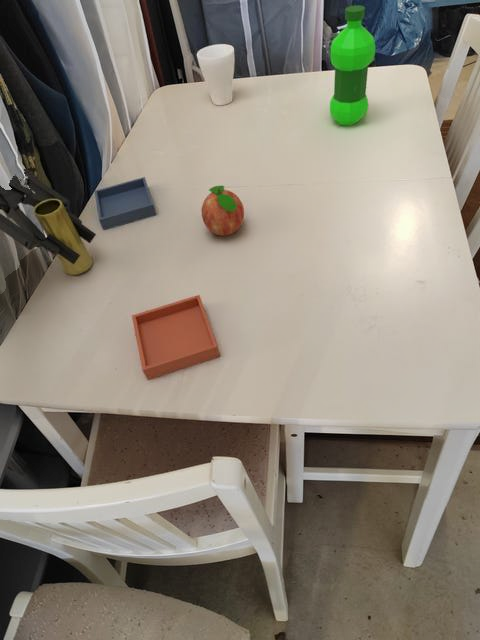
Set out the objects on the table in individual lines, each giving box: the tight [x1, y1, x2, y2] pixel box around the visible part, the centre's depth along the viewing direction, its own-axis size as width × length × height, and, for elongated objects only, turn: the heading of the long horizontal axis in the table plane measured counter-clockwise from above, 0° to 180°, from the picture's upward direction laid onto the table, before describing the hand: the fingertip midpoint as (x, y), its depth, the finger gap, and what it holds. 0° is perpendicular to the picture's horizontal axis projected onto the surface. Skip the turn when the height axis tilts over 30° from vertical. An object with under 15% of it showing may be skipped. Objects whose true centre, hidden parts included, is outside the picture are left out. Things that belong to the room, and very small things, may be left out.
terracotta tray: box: [131, 294, 221, 380], centre depth 74 cm, size 12×12×3 cm
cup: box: [196, 43, 236, 106], centre depth 127 cm, size 10×10×14 cm
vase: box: [32, 199, 94, 276], centre depth 85 cm, size 6×6×14 cm
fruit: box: [201, 185, 245, 237], centre depth 89 cm, size 9×10×10 cm
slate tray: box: [94, 176, 157, 231], centre depth 101 cm, size 12×12×3 cm
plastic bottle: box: [329, 5, 376, 127], centre depth 106 cm, size 10×10×25 cm
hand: (84, 249), depth 86 cm, fingers closed on vase, 5 cm apart
